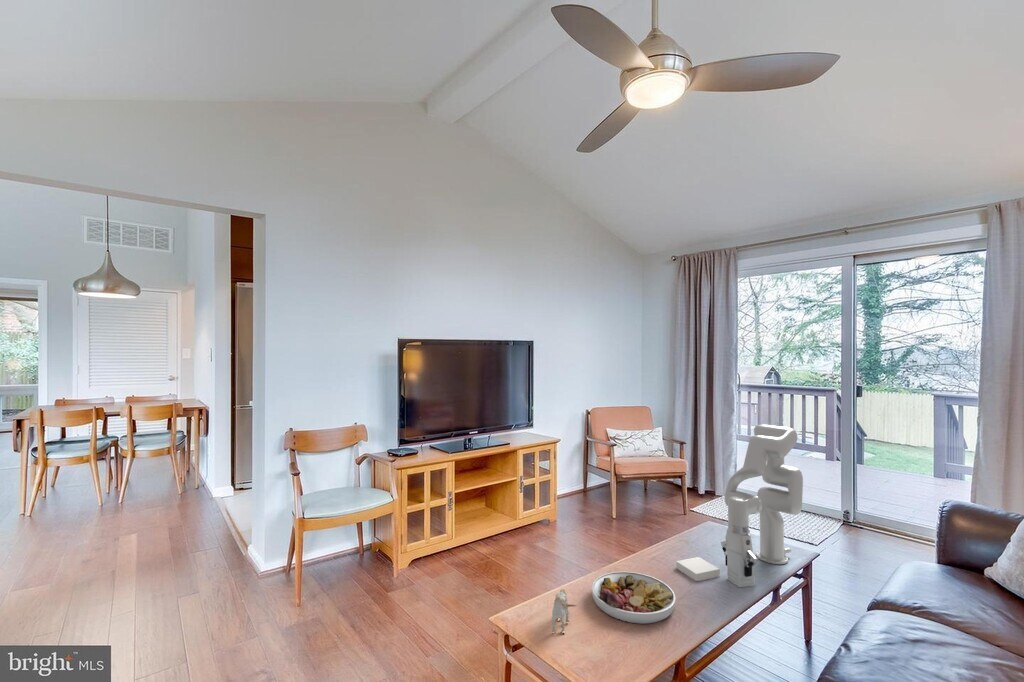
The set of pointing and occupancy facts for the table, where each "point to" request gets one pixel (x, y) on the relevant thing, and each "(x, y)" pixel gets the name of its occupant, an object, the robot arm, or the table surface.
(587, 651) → the table surface
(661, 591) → the bowl
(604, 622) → the table surface
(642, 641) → the table surface
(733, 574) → the supplement box
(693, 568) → the plinth
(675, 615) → the table surface
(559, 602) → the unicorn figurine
